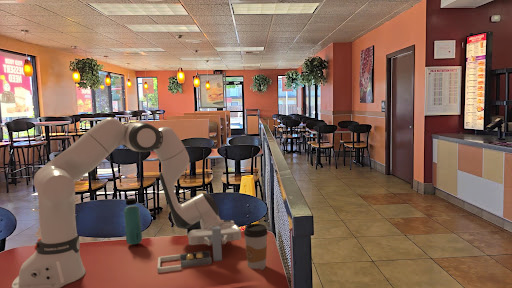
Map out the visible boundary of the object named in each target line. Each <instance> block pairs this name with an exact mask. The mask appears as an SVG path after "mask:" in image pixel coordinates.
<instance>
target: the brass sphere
mask: <svg viewBox="0 0 512 288" xmlns="http://www.w3.org/2000/svg"><path fill="white" fill-rule="evenodd" d="M201 258H204V255H203V254H202V253H198V254H197V255H196V259H201Z"/></svg>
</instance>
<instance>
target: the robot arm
mask: <svg viewBox="0 0 512 288" xmlns="http://www.w3.org/2000/svg"><path fill="white" fill-rule="evenodd" d="M119 146H122V147H125V148H126V149H129V150H131V151H134V152H141V153H147V152H151V151H153V152H154V153H155V154H156V156H157V158H158V160H159V161H160V164H161V172H160V173H159V180H160V184H161V187H162V190H163V192H164V195H165V199H166V201H167V205H168V207H169V210H170V214H171V219H172V222H173V224H174V225H175V226H176V228H177V229H181V230H182V229H183V230H186V229H187V230H188V229H189V228H190V227H191V226H193V225H194V224H196V223H198V222H199V223H200V228H198V229H192V230H190V231H189V232H187V233H186V236H187V239H188V244H189V246H197V245H198V246H199V245H207V246H208V247H209V246H212V227H216V226H220V228H221V245H226V244H227V242H232V241H233V242H234V241H240V240H241V239H242V231H241V228H240V227H239V225H237V224H235V221H234V220H225V219H221V217H220V216H219V212H220V211H219V208H218V206H217V204H216V200H214V197H212V196H211V195H210V194H208V193H206V192H202V193H201V192H200V193H199V194H197V195H195V196H194V197H192V198H190V199H188V200H186V201H185V202H182V203H179V201H178V198H177V195H176V192H175V189H174V186H175V184H176V183H177V181H178V180H179V179H180V177H181V176H182V175H184V173H185V172H186V170H187V169H188V166H189V164H190V156H189V153H188V150H187V149H186V147H185V145H184V143H183V141H182V140H181V138H180V137H179V136H178V134H177V133H176V132H175V130H174V129H172V127H168V126H162V127H159V128H157V127H156V126H153V125H152V124H150V123H147V122H143V121H131V122H127V123H122V122H121V121H120V120H119V119H118V118H114V117H111V116H110V117H106V118H103V120H100V121H99V122H97V123H96V124H95V125H94V126H92V127H91V128H89V129H88V130H87V131H86V132H84V134H83V135H81V136H80V137H79V138H78V139H77V140H76V141H74V142H73V143H72V144H71V145H69V147H68V148H66V149H65V150H64V151H62V152H61V153H59V154H57V155H56V156H55V157H54V158H53V159H51V160H50V161H48V162H47V163H46V164H45V165H43V166H42V167H40V168H39V169H38V170H37V172H36V173H35V175H34V176H33V185H34V188H35V189H36V193H37V201H38V210H39V211H38V221H39V227H40V232H41V237H40V238H39V239H38V238H37V242H36V243H35V245H34V247H33V248H34V250H35V252H34V253H33V254H32V255H30V257H28V259H26V260H25V261H24V262H23V263H22V264H21V265H20V266H21V267H20V268H19V273H18V276H16V278H15V279H14V280H13V282H12V283H11V288H62V287H64V286H66V285H68V284H71V283H73V282H76V281H77V280H80V279H81V278H83V277H84V276H85V275H86V269H85V266H84V264H83V261H82V258H81V254H80V248H81V244H80V237H79V234H78V233H77V223H76V222H77V221H76V185H75V184H76V183H75V182H76V181H78V180H79V179H81V178H82V177H83V176H85V175H86V174H87V173H90V172H92V171H93V170H94V169H95V168H96V167H97V166H99V165H100V164H101V163H102V162H103V161H104V160H105V159H106V158H107V157H108V156H109V155H111V153H112V152H114V150H115V149H117V148H119Z"/></svg>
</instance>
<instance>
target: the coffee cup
mask: <svg viewBox="0 0 512 288" xmlns="http://www.w3.org/2000/svg"><path fill="white" fill-rule="evenodd" d="M243 234H244V241H245V242H244V243H245V254H246V260H247V266H248V268H250V269H255V270H259V269H260V271H263V270H265V268H266V265H267V263H266V262H267V247H268V244H267V240H268V239H267V237H268V229H267V226H266V225H265V224H263V223H251V224H247V225H245V229H244V230H243Z"/></svg>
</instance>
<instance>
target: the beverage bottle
mask: <svg viewBox="0 0 512 288" xmlns="http://www.w3.org/2000/svg"><path fill="white" fill-rule="evenodd" d="M136 204H137V200H136V198H135V197H130V198H126V199H125V205H126V207H125V208H124V209H123V213H124V227H125V241H126V243H127V244H128V245H137V244H140V243H141V242H142V241H143V236H142V235H143V233H142V225H141V224H142V223H141V221H142V220H141V212H140V207H139V206H137V205H136Z"/></svg>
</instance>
